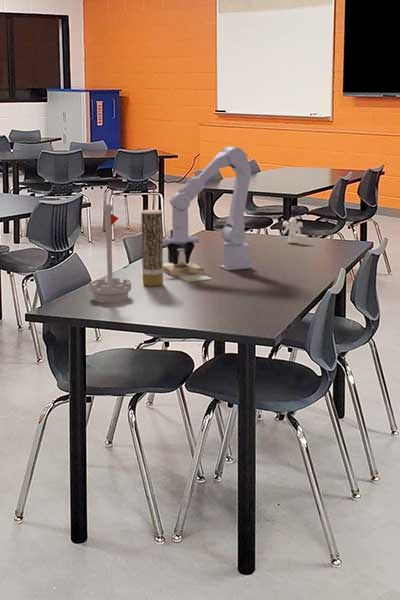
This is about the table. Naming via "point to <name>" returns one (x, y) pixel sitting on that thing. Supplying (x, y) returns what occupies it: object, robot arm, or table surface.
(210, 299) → the table surface
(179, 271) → the plate
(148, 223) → the paper tube
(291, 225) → the hat wearing toy figure
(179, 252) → the clear glass cup
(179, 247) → the supplement bottle
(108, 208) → the flag stand
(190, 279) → the sage mat
